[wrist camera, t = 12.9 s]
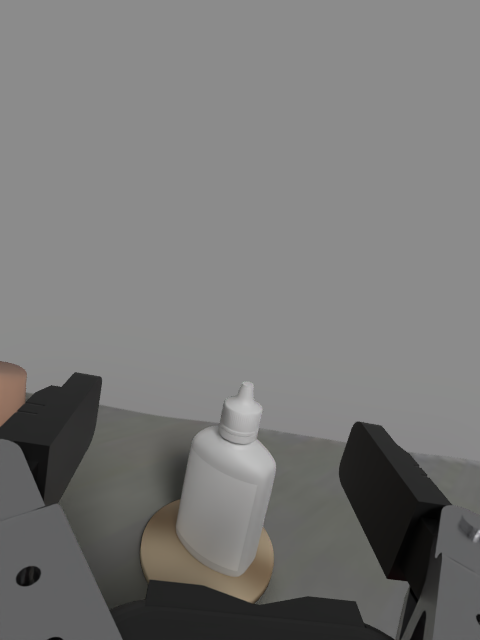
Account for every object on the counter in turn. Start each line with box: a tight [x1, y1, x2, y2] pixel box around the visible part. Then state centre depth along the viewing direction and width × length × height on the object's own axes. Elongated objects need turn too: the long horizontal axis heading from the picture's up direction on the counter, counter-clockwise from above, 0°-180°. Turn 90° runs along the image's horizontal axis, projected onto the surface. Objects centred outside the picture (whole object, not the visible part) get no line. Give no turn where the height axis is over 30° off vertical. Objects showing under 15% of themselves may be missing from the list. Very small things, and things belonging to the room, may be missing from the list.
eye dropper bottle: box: [176, 381, 276, 577], centre depth 24 cm, size 4×6×12 cm
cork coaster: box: [140, 499, 274, 604], centre depth 25 cm, size 9×9×1 cm
